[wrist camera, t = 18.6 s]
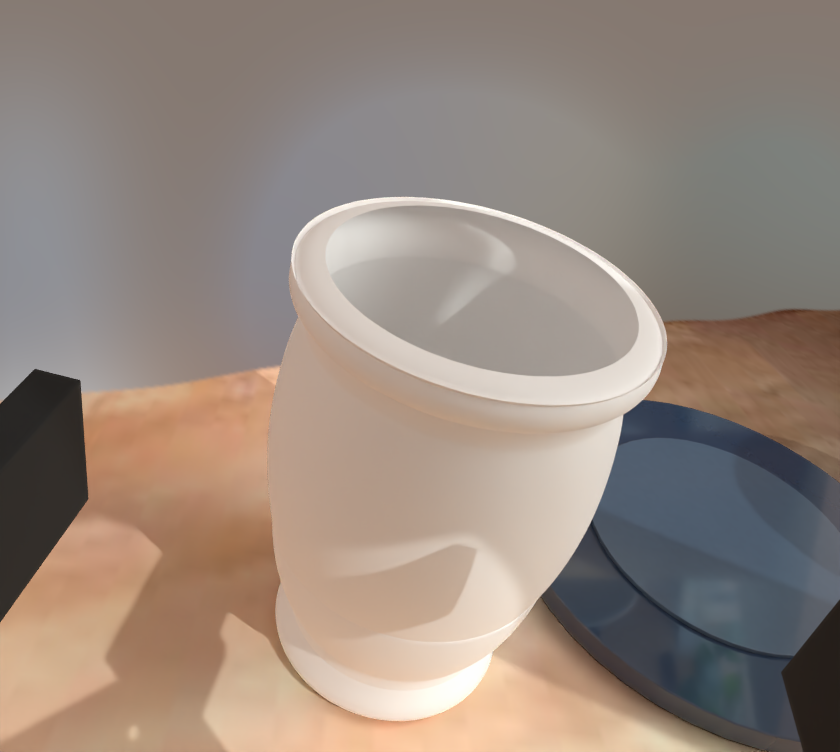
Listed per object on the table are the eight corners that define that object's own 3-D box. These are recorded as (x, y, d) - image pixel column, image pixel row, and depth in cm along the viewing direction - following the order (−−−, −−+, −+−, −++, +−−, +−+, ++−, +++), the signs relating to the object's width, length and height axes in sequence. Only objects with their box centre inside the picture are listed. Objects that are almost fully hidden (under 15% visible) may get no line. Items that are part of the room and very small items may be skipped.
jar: (222, 534, 31) (252, 185, 23) (452, 502, 35) (551, 197, 27) (283, 795, 24) (363, 420, 15) (567, 715, 28) (755, 386, 19)
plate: (733, 399, 48) (741, 384, 47) (1033, 688, 34) (1052, 672, 33) (441, 429, 40) (446, 411, 39) (675, 828, 25) (690, 811, 25)
